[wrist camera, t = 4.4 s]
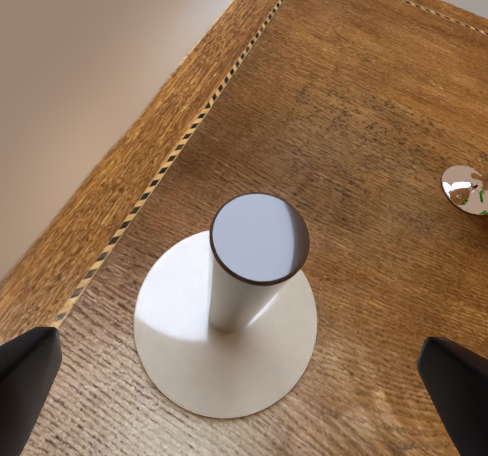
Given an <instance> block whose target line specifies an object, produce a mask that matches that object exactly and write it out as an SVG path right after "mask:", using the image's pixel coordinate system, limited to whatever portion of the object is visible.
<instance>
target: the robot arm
mask: <svg viewBox="0 0 488 456" xmlns="http://www.w3.org/2000/svg"><path fill="white" fill-rule="evenodd" d="M61 361H62V353H61V346H60V339H59V333H58V330H57V329H56V328H55V327H35V328H33V329H31V330H29V331H27V332H25V333H24V334H22V335H20V336H18V337H16V338H14V339H12V340H11V341H9V342H7V343H5V344H3V345H1V346H0V456H20V454H21V452H22V450H23V448H24V446H25V445H26V443H27V441H28V439H29V437H30V435H31V432H32V430H33V428H34V426H35V424H36V421H37V419H38V417H39V414H40V412H41V410H42V407H43V405H44V403H45V400H46V398H47V396H48V393H49V391H50V389H51V386H52V384H53V382H54V379H55V377H56V375H57V372H58V370H59V368H60V365H61ZM417 369H418V372H419V374H420V376H421V378H422V380H423V383H424V385H425V387H426V389H427V391H428V393H429V395H430V397H431V399H432V401H433V403H434V406H435V408H436V410H437V412H438V414H439V416H440V418H441V420H442V422H443V424H444V426H445V428H446V430H447V432H448V434H449V436H450V438H451V440H452V441H453V443H454V445H455V447H456V448H457V450H458V452H459V454H460V455H461V456H488V360H487V359H485V358H483V357H481V356H480V355H478V354H476V353H474V352H472V351H470V350H468V349H466V348H464V347H462V346H461V345H459V344H457V343H455V342H453V341H451V340H449V339H447V338H444V337H428V338H427V339H425V341H424V344H423V346H422V349H421V352H420V354H419V357H418V360H417Z"/></svg>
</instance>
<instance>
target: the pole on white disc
mask: <svg viewBox="0 0 488 456" xmlns="http://www.w3.org/2000/svg"><path fill="white" fill-rule="evenodd" d="M309 245H310V240H309V233H308V229H307V226H306V224H305V222H304V220H303V218H302V216H301V215H300V214H299V212H298V211H297V210H296V209H295V208H294V207H293V206H292V205H291V204H289V203H288V202H286V201H285V200H283V199H281V198H279V197H277V196H275V195H271V194H268V193H261V192H252V193H245V194H241V195H238V196H236V197H234V198H232V199H230V200H229V201H227V202H226V203H225V204H223V205H222V206H221V207H220V209H219V210H218V211H217V212H216V214H215V216H214V218H213V220H212V223H211V226H210V230H209V231H204V232H201V233H198V234H194V235H192V236H190V237H188V238H185V239H183V240H182V241H180V242H178V243H177V244H175V245H174V246H172V247H171V248H170V249H169V250H167V251H166V252H165V253H164V254H163V255H162V256H161V257H160V258H159V259H158V260H157V261H156V263H155V264H154V265H153V266H152V268H151V269H150V270H149V272H148V274H147V276H146V277H145V279H144V281H143V283H142V286H141V288H140V290H139V293H138V297H137V300H136V304H135V311H134V329H133V330H134V338H135V344H136V348H137V352H138V356H139V358H140V360H141V363H142V365H143V368H144V369H145V371H146V373H147V374H148V376H149V378H150V379H151V381H152V382H153V383H154V384H155V386H156V387H157V388H158V389H159V391H161V392H162V393H163V394H164V395H165V396H166V397H167V398H168V399H169V400H171V401H172V402H174V403H175V404H177V405H178V406H180V407H181V408H184V409H186V410H188V411H190V412H192V413H195V414H198V415H202V416H205V417H211V418H219V419H225V418H238V417H244V416H248V415H251V414H254V413H257V412H260V411H262V410H264V409H266V408H268V407H270V406H272V405H273V404H274V403H276V402H277V401H279V400H280V399H281V398H283V397H284V396H285V395H286V394H287V393H288V392H289V391H290V390H291V389H292V388H293V387H294V386H295V384H296V383H297V382H298V381H299V379H300V378H301V376H302V375H303V373H304V371H305V369H306V368H307V366H308V363H309V361H310V359H311V356H312V353H313V349H314V346H315V341H316V334H317V312H316V305H315V301H314V296H313V293H312V290H311V288H310V285H309V283H308V281H307V279H306V277H305V275H304V273H303V272H302V270H301V268H302V266H303V265H304V263H305V261H306V259H307V256H308V253H309Z"/></svg>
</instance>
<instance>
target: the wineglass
mask: <svg viewBox="0 0 488 456" xmlns="http://www.w3.org/2000/svg"><path fill="white" fill-rule="evenodd" d="M441 183H442V188H443V190H444V192H445V194H446V196H447V197H448V198H449V200H450V201H451V202H452V203H453V204H454V205H456V206H457V207H458V208H460V209H461V210H463V211H465V212H467V213H470V214H474V215H487V214H488V173H487V174H485V175H484V174H482V173H481V172H479V171H478V170H476V169H474V168H471V167H468V166H464V165H455V166H451V167H449V168H448V169H446V170H445V171H444V173H443V175H442V178H441Z"/></svg>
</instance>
